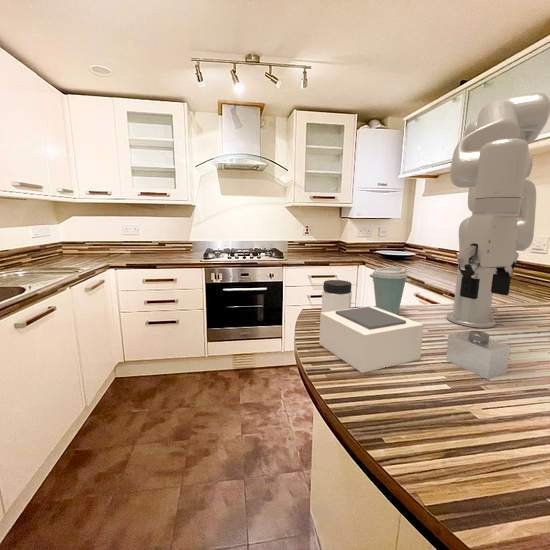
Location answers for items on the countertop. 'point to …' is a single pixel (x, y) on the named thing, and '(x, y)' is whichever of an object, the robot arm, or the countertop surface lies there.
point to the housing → (478, 353)
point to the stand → (370, 337)
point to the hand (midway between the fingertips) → (484, 295)
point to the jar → (336, 295)
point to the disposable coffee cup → (389, 288)
